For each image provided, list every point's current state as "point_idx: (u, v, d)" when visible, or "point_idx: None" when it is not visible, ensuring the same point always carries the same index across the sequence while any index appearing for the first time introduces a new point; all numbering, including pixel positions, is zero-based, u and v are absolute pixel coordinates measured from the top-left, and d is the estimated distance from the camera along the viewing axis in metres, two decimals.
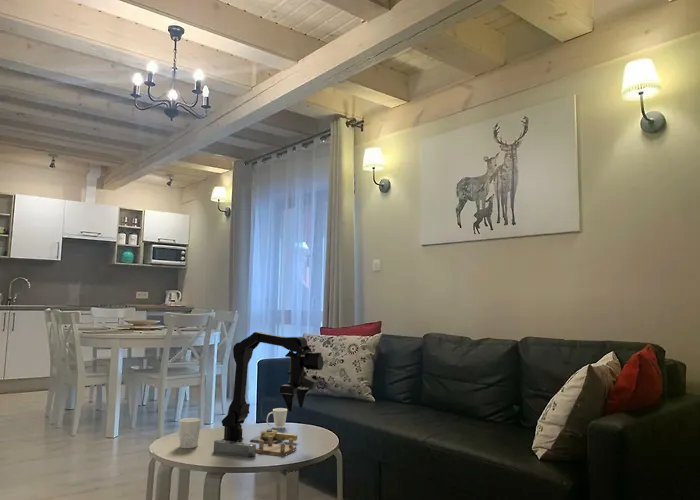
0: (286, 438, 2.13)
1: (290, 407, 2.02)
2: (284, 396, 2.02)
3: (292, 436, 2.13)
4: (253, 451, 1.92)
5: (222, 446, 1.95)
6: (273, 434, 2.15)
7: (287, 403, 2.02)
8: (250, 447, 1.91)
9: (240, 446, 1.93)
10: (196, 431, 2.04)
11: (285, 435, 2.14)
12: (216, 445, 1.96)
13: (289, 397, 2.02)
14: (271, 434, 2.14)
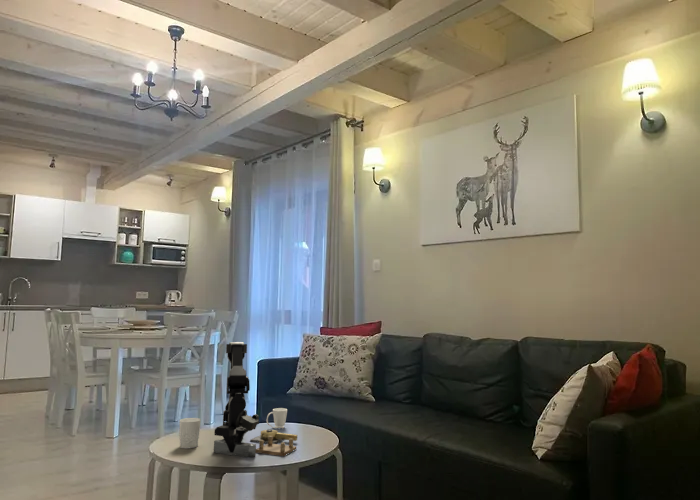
0: (286, 438, 2.13)
1: (231, 448, 1.93)
2: (225, 436, 1.93)
3: (292, 436, 2.13)
4: (253, 451, 1.92)
5: (222, 446, 1.95)
6: (273, 434, 2.15)
7: (227, 444, 1.93)
8: (250, 447, 1.91)
9: (240, 446, 1.93)
10: (196, 431, 2.04)
11: (285, 435, 2.14)
12: (216, 445, 1.96)
13: (230, 437, 1.93)
14: (271, 434, 2.14)
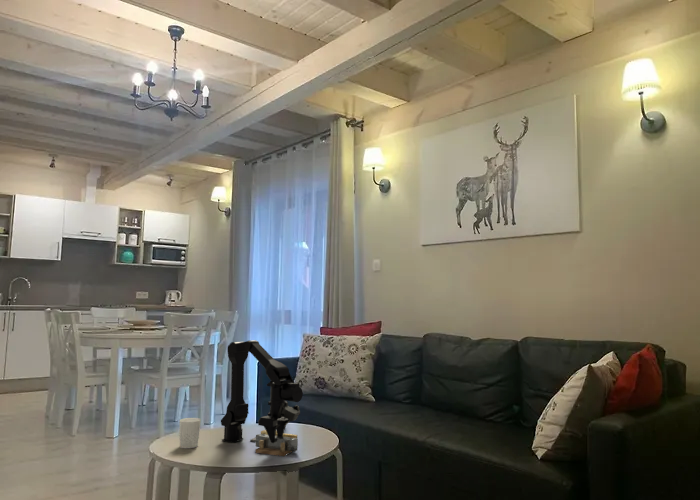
0: None
1: (272, 438, 1.97)
2: (266, 427, 1.97)
3: (292, 436, 2.13)
4: (295, 445, 1.97)
5: (264, 440, 2.00)
6: None
7: (269, 434, 1.98)
8: (292, 441, 1.96)
9: (282, 440, 1.98)
10: (196, 431, 2.04)
11: (285, 435, 2.14)
12: (258, 439, 2.01)
13: (271, 428, 1.97)
14: None
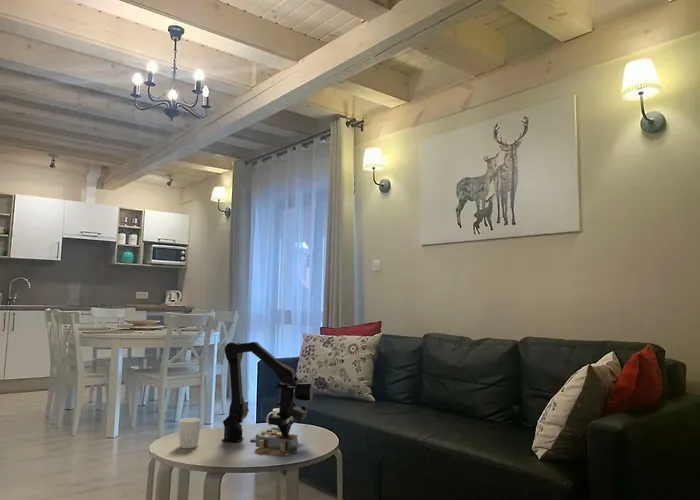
0: None
1: (285, 435, 2.12)
2: (279, 425, 2.12)
3: (292, 436, 2.13)
4: (295, 445, 1.97)
5: (264, 440, 2.00)
6: (273, 434, 2.15)
7: (282, 431, 2.12)
8: (292, 441, 1.96)
9: (282, 440, 1.98)
10: (196, 431, 2.04)
11: None
12: (258, 439, 2.01)
13: (284, 426, 2.12)
14: (271, 434, 2.14)
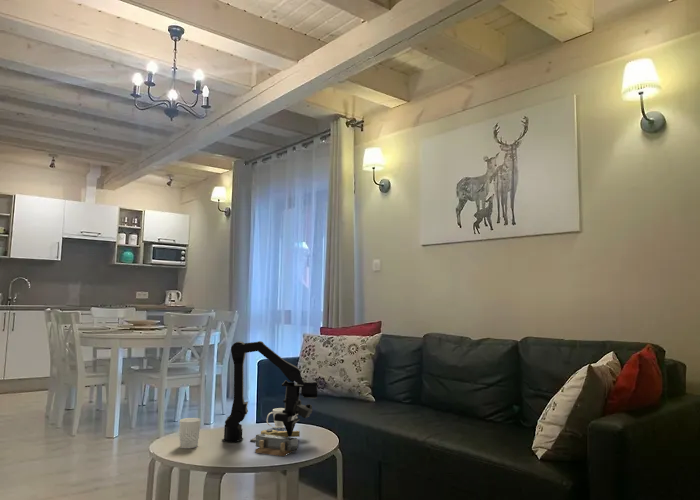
0: None
1: (289, 432, 2.17)
2: (284, 422, 2.17)
3: (296, 432, 2.19)
4: (295, 445, 1.97)
5: (264, 440, 2.00)
6: (276, 433, 2.16)
7: (286, 428, 2.17)
8: (292, 441, 1.96)
9: (282, 440, 1.98)
10: (196, 431, 2.04)
11: None
12: (258, 439, 2.01)
13: (289, 423, 2.17)
14: (275, 433, 2.15)
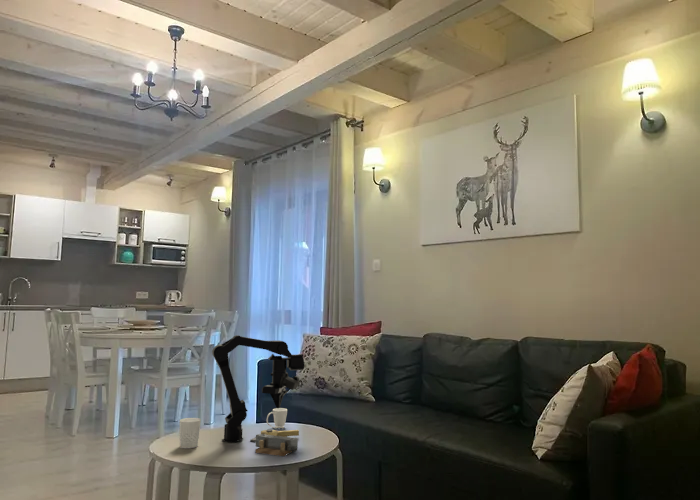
0: (289, 434, 2.20)
1: (277, 404, 2.22)
2: (272, 394, 2.22)
3: (295, 431, 2.21)
4: (295, 445, 1.97)
5: (264, 440, 2.00)
6: (277, 433, 2.17)
7: (274, 401, 2.22)
8: (292, 441, 1.96)
9: (282, 440, 1.98)
10: (196, 431, 2.04)
11: (288, 432, 2.20)
12: (258, 439, 2.01)
13: (276, 395, 2.22)
14: (276, 433, 2.16)
